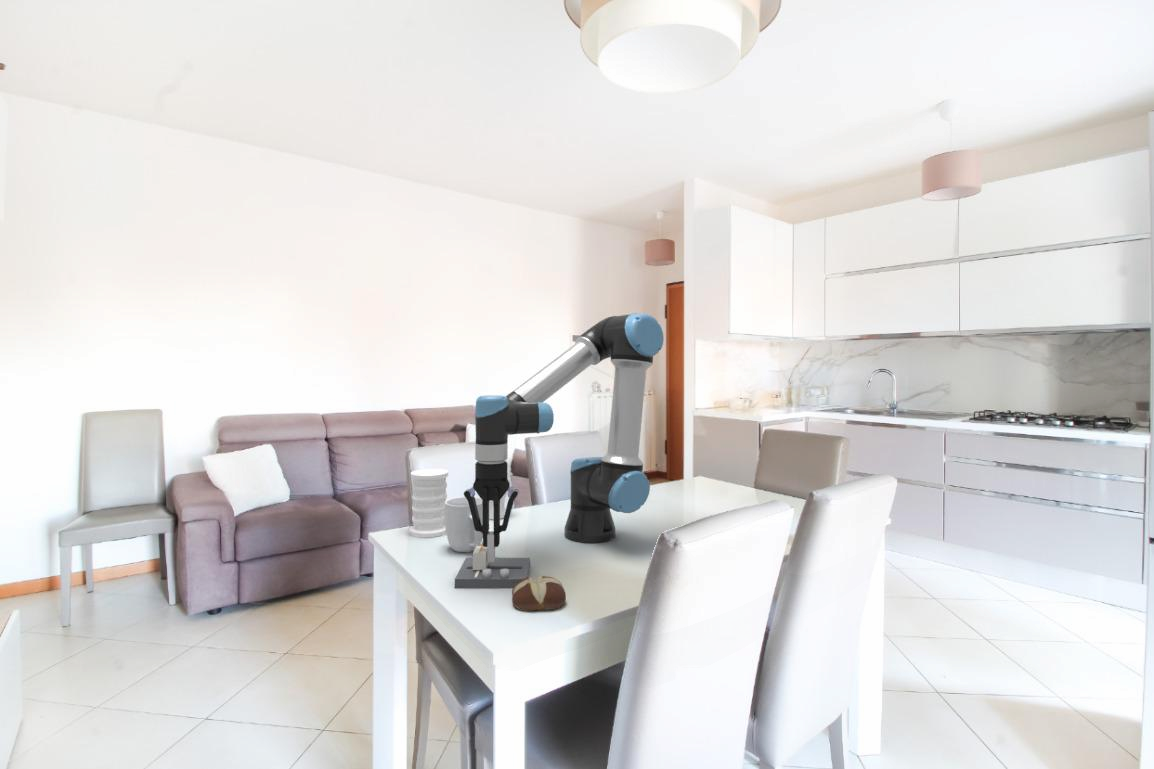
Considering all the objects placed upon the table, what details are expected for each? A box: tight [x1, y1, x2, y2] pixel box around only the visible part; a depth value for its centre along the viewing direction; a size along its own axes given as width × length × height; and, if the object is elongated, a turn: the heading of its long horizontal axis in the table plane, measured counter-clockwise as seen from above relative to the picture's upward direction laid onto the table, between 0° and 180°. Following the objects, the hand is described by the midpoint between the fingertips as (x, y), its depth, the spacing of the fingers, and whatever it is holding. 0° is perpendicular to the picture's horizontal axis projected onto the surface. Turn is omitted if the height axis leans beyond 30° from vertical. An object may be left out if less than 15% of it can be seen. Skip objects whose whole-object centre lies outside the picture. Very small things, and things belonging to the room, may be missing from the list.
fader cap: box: [472, 545, 489, 570], centre depth 131 cm, size 3×5×4 cm, turn 1°
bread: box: [511, 575, 567, 611], centre depth 117 cm, size 11×11×5 cm
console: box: [454, 557, 531, 589], centre depth 131 cm, size 16×14×4 cm
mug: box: [445, 496, 483, 553], centre depth 149 cm, size 15×11×13 cm
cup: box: [489, 469, 511, 520], centre depth 182 cm, size 11×11×15 cm
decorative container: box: [409, 468, 449, 539], centre depth 165 cm, size 12×12×18 cm
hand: (491, 559), depth 131 cm, fingers closed
